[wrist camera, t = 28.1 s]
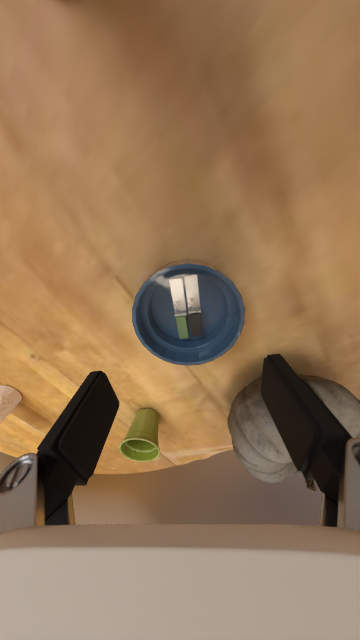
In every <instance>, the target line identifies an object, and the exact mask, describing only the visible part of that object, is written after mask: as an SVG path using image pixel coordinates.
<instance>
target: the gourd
mask: <svg viewBox="0 0 360 640" xmlns="http://www.w3.org/2000/svg"><path fill="white" fill-rule="evenodd" d="M297 376H298V377H299V378H303V379H304V380H305V381H306V382H307V383H308V384H309V386H310V387H311V388H312V389H313V390H314V392H315V393H316V394H317V395H318V396H319V398H320V399H321V400H322V401H323V402H324V404H325V405H326V406H327V407H328V408H329V410H330V411H331V412H332V413H333V414H334V416H335V417H336V418H337V419H338V420H339V422H340V423H341V424H342V425H343V426H344V428H345V429H346V430H347V431H348V432H349V434H350V435H351V436H352V437H353V438H356V437H358V438H360V400H358V399H357V398H356V397H355V396H354V395H353V394H352V393H351V392H350V391H349V390H347V389H346V388H345V387H343V386H342V385H340V384H338V383H336V382H334V381H331V380H328V379H324V378H320V377H316V376H303V375H299V374H297ZM261 382H262V378H259V379H258V380H255V381H253V382H252V383H250V384H249V385H248V386H246V387H245V388H244V389H243V390H241V391H240V392H239V394H238V395H237V396H236V398H235V400H234V402H233V404H232V405H231V409H230V413H229V416H228V428H229V431H230V434H231V437H232V444H233V448H234V451H235V454H236V455H237V457H238V459H239V461H240V462H241V463H242V465H243V466H244V467H245V468H246V469H247V470H248V471H249V472H250V473H251V474H252V475H253V476H254V477H256V478H258V479H260V480H263V481H266V482H270V483H277V482H280V481H282V480H284V479H285V478H286V477H287V476H288V475H289V474H290V473H294V474H297V475H299V476H303V474H302V472H301V471H298V470H297V469H296V467H295V465H294V463H293V461H292V459H291V457H290V455H289V453H288V451H287V449H286V447H285V444H284V442H283V440H282V438H281V436H280V434H279V432H278V430H277V428H276V426H275V423H274V421H273V419H272V417H271V415H270V413H269V411H268V409H267V407H266V405H265V402H264V400H263V398H262V396H261ZM303 477H304V476H303ZM314 480H315V479H313V480H305V482H306V484H307V488H308V489H309V490H311V491H313V492H317V487H316V486H315V484H314Z"/></svg>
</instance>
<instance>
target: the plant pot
mask: <svg viewBox="0 0 360 640" xmlns="http://www.w3.org/2000/svg"><path fill="white" fill-rule="evenodd" d="M158 419H159V416H158V414H157V412H156V411H154V410H152V409H149V408H146V409H140V410H139V411H138V412H137V414H136V416H135V418H134V420H133V423H132V425H131V427H130V429H129V431H128V434H127V436H126V437H125V438H124V440H123V441H122V442H121V444H120V446H119V451H120V453H121V454H122V455H123V456H125V457H126V458H128V459H130V460H133V461H138V462H148V461H152V460H154V459H156V458H157V457H158V456H159V454H160V449H159V447H158Z"/></svg>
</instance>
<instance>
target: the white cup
mask: <svg viewBox="0 0 360 640" xmlns="http://www.w3.org/2000/svg"><path fill="white" fill-rule="evenodd" d="M21 401H22V396H21V394H20V392H18V391H17V390H16V389H14V388H12V387H10V386H6V385H0V423H1V422H2V421H3V420H4V419H5V418H6V417H7V416H8V415H9V414H10V413H11V412H12V410H13V409H14V408H15V407H16V406H17V405H18V404H19V403H20V402H21Z"/></svg>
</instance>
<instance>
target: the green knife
mask: <svg viewBox="0 0 360 640" xmlns="http://www.w3.org/2000/svg"><path fill="white" fill-rule="evenodd" d="M169 283H170V288H171V294H172V300H173V305H174V311H175V314H174V316H175V317H176V322H177V328H178V333H179V339H183V338H189V332H188V325H187V318H186V315H187V310H186V303H185V296H184V289H183V282H182V278H175V279H169Z"/></svg>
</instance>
